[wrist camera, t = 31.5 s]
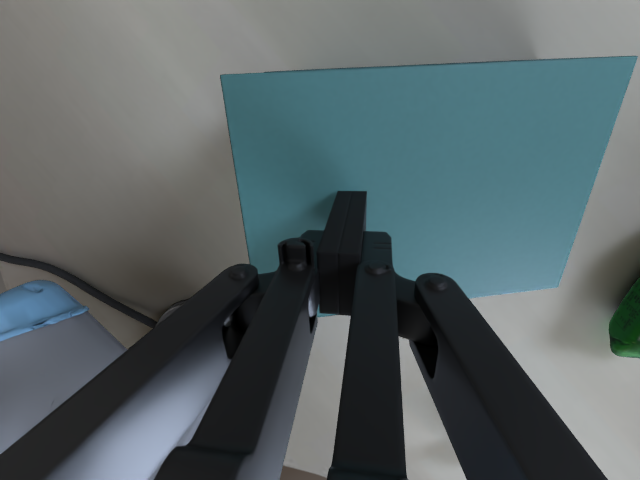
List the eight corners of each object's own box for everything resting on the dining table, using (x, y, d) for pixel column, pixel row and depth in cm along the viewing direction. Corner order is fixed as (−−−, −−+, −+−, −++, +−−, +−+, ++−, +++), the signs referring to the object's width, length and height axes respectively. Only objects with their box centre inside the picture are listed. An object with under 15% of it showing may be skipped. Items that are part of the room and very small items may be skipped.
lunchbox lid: (259, 316, 22) (259, 325, 21) (221, 74, 15) (219, 74, 14) (549, 281, 24) (558, 287, 23) (623, 56, 17) (639, 55, 17)
